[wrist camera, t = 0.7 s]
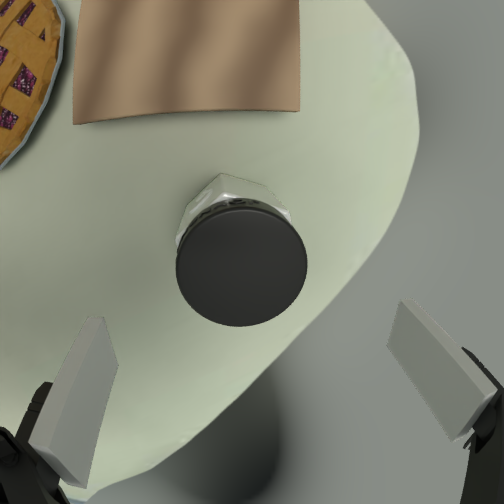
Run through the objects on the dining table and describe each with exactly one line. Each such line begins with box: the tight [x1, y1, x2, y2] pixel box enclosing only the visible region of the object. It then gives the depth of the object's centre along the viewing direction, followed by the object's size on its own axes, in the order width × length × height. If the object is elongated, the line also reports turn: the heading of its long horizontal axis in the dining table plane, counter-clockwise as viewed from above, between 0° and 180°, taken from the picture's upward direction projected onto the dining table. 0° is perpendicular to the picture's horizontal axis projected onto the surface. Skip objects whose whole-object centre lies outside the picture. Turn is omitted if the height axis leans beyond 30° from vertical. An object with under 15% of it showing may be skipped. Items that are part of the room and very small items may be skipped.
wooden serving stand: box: [73, 0, 300, 125], centre depth 19 cm, size 18×18×5 cm
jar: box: [175, 174, 307, 327], centre depth 24 cm, size 9×8×12 cm
